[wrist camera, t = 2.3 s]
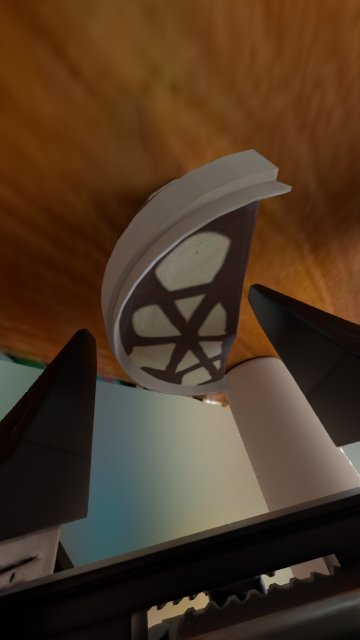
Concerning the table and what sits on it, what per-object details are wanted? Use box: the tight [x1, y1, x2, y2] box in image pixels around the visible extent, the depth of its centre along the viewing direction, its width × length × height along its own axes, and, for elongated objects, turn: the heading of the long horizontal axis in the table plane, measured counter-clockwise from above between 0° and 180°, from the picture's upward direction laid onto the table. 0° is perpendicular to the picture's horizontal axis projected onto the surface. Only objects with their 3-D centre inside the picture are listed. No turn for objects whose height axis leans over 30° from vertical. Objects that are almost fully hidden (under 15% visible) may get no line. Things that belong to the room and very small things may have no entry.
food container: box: [101, 149, 292, 395], centre depth 11 cm, size 12×6×10 cm, turn 5°
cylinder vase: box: [224, 357, 360, 579], centre depth 27 cm, size 12×12×25 cm
